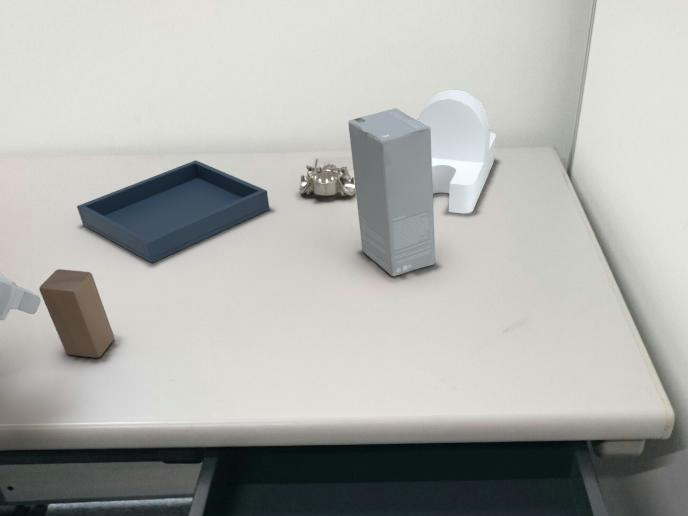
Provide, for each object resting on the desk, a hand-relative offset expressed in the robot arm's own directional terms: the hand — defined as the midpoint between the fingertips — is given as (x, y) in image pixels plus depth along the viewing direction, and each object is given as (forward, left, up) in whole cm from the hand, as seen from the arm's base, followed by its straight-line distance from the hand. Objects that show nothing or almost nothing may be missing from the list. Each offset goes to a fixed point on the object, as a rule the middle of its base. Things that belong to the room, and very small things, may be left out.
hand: (8, 286), depth 69 cm
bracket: (+3, +63, -10) cm, 64 cm away
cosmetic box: (+12, +41, -10) cm, 44 cm away
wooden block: (0, +5, -10) cm, 11 cm away
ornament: (-8, +49, -10) cm, 51 cm away
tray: (-18, +30, -10) cm, 37 cm away
